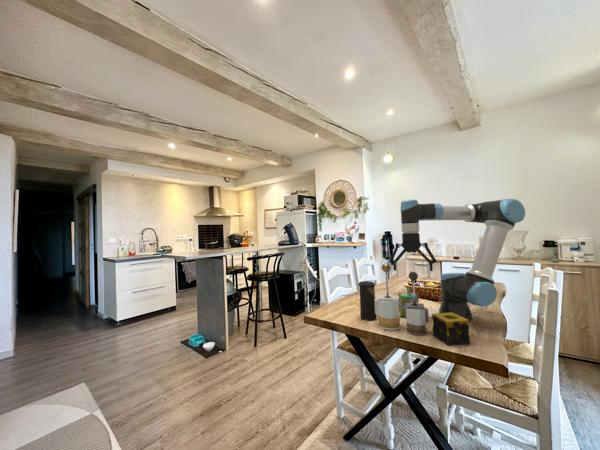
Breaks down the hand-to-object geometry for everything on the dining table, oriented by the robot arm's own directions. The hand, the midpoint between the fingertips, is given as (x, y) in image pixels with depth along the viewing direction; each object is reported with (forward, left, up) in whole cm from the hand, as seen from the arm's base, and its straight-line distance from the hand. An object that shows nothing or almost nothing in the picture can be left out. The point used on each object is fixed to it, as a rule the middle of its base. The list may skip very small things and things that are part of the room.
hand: (412, 277), depth 116 cm
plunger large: (+12, -4, -11) cm, 17 cm away
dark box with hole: (-13, +5, -26) cm, 29 cm away
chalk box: (+2, -23, -26) cm, 34 cm away
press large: (+12, -4, -25) cm, 28 cm away
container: (+23, -13, -25) cm, 37 cm away
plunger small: (0, 0, -13) cm, 14 cm away
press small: (0, 0, -25) cm, 25 cm away
